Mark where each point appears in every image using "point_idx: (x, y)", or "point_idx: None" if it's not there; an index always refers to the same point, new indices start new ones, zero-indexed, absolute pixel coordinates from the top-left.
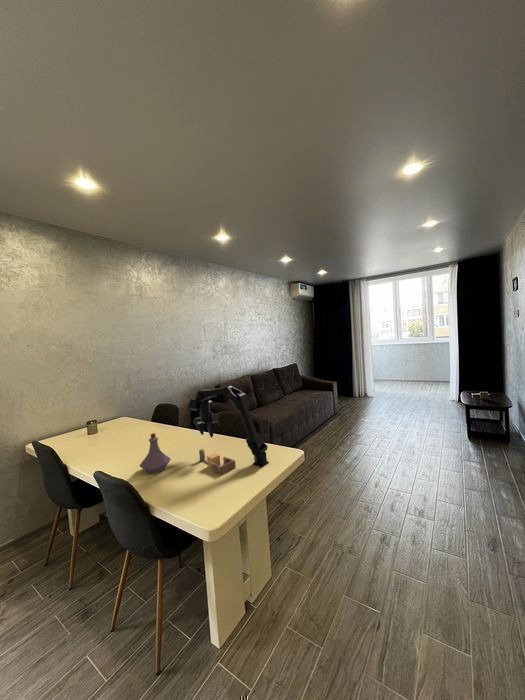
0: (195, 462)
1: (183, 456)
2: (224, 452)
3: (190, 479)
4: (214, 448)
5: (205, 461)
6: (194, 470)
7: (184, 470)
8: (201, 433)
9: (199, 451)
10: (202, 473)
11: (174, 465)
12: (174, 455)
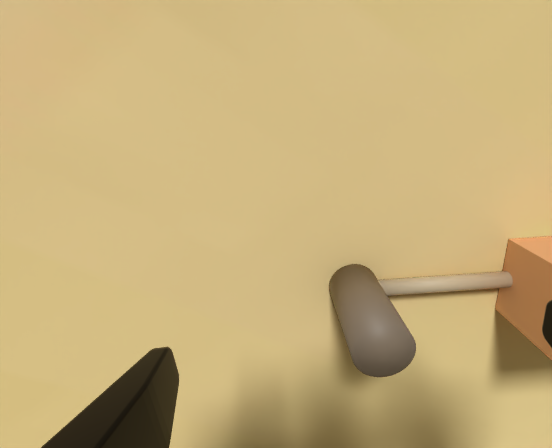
0: (333, 337)
1: (128, 355)
2: (379, 15)
3: (529, 444)
4: (157, 33)
5: (418, 293)
6: (449, 390)
7: (385, 429)
8: (170, 425)
9: (380, 374)
10: (541, 373)
11: (248, 445)
12: (47, 393)
